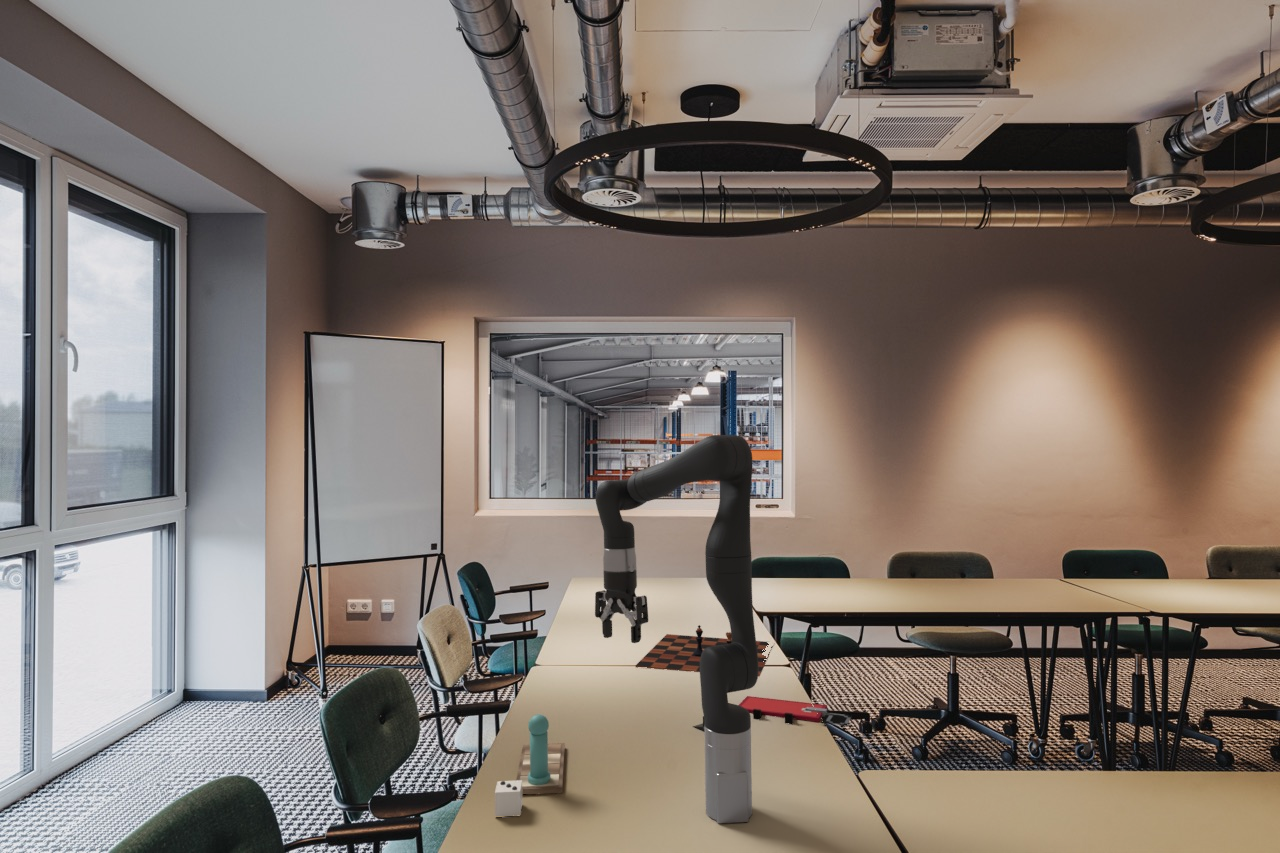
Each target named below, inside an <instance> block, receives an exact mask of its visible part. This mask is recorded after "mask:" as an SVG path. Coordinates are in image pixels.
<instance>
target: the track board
mask: <svg viewBox="0 0 1280 853" xmlns="http://www.w3.org/2000/svg"><path fill="white" fill-rule="evenodd" d="M565 746H566V744H565V742H562V743H561V742H560V743H559V742H558V743H548V771H549V772H550V781H549V782H548V783H546V784H543V785H532V784H530V783H529V782H528V774H529V773H530V744H523V745H522V747H521V748H522V749H521V754H520V760H519V764H518V769H517V774H516V780H522V794H536V795H539V794H538V793H557V794H563V786H564V785H563V784H564V766H565V750H566V748H565ZM516 780H515V781H516Z"/></svg>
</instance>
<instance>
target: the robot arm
mask: <svg viewBox="0 0 1280 853" xmlns="http://www.w3.org/2000/svg"><path fill="white" fill-rule="evenodd" d="M752 477H753V454H752V449H751V446H750V444H749V442H748V441H747V440H746V439H745V438H744V437H743V436H740V435H736V434H716V435H715V434H713V435H709V436H706V437H703V438H702V439H701V440H699V441H698V442H696V443H695V444H693V445H692V446H690V447H688V448H687V449H686V450H684V451H681V453H679V454H677V455H675V456H672V458H669V459H666V460H665V461H662V462H659V463H656V464H653V465H651V466H648V467H646V468H642V469H640V470H638V471H636V472H634V473H633V474H632V475H630V477H629V478H627V479H615V480H614V479H613V480H604V481H602V482H600V484H599V485H598V487H597V489H596V490H595V491H596V492H595V504H596V508H597V512H598V515H599V519H600V523H601V526H602V529H603V559H602V562H603V566H602V567H603V569H602V570H603V589H604V590H598V591H596V592H595V597H594V598H595V600H594V602H595V603H594V617H596V618H598V619H600V621H601V622H602V623H601V624H602V626H601V628H602V629H601V630H602V631H601V632H602V635H603V637H604V638H605V639H609V638H612V637H613V620H612V619H613V616H614V615H615V614H617V613H618V614H621V615H624V616H625V618H626V619H628V621H629V622H630V624H631V626H630V640H631V641H630V642H631V643H633V644H637V643H640V641H641V639H642V625H643V624H647V623H648V622H649V610H648V608H649V607H648V597H647V595H640V596H639V595H636V589H637V588H638V578H637V577H638V576H637V554H636V548H635V547H636V546H635V527H634V524H633V523H632V522H631V521H627V520H623V517H622V513H621V511H622V512H623V511H630V510H633V509H636V508H638V507H641V506H642V505H644V504H645V503H647V502H652V501H654V500H656V499H657V500H658V499H659V498H662V497H666V496H667V495H670V494H671V493H673V492H675V490H677V489H678V488H681V487H682V486H684V485H686V484H687V485H688V484H690V483H696V482H697V483H698V482H705V481H714V482H719V503H718V508H717V512H716V515H715V518H714V520H713V523H712V525H711V528H710V530H709V533H708V536H707V538H706V544H705V551H704V552H705V553H704V554H705V574H706V576H705V577H706V581H707V584H708V586H709V588H710V590H711V591H712V593H713V595H714V597H715V598H716V600H717V601H718V602H719V604H720V605H721V607H722V608H723V610H724V611H725V614H726V616H727V618H728V619H727V620H728V621H729V627H730V632H731V639H732V640H731V644H724V645H717V646H711V647H707V648H705V649H704V650H703V652H702V654H701V657H700V672H699V679H700V681H699V682H700V691H701V694H700V695H701V709H702V712H703V716H704V725H705V732H704V773H705V774H704V777H705V778H704V780H705V781H704V784H705V791H704V792H705V812H706V815H707V817H708V816H709V818H711V819H713V820H715V821H716V824H734V823H748V822H750V819H749V818H750V817H751V816H752V815H753V791H752V786H753V785H752V784H753V783H752V780H753V779H752V725H751V724H752V721H751V718H752V716H751V713H749V711H748V710H747V709H745V708H744V707H742V706H739V704H735V703H732V702H731V703H729V700H728V694H729V693H733V692H735V693H736V692H740V691H745V690H750V689H752V688H754V687H755V685H756V684H757V682H758V679H759V678H758V671H759V667H758V654H757V645H756V641H757V638H756V631H755V630H756V629H755V621H754V611H753V610H754V609H753V608H754V606H753V584H752V582H753V576H752V575H753V572H752V570H753V567H752V566H753V565H752V564H753V563H752V546H751V543H752V542H751V491H752Z"/></svg>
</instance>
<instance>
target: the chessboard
mask: <svg viewBox="0 0 1280 853" xmlns="http://www.w3.org/2000/svg"><path fill="white" fill-rule="evenodd" d="M701 627H702V626H701V625H700V624H699V625H697V629H695V633H696V635H695V636H694V635H684V634H683V635H680V634H668V633H666V634H665V635H664V637H662V638H661V639H660V640H659V642H657V643H656V644H655V645H654V646H653V648H651V649H650V650H649V652H647V653H646V654H645V655H644V656H643V657H642V658H641V659H640V660H639V661H638V662H637V663H636V664H635V668H638V667H647V668H646V669H651V668H654V669H655V670H664V669H667V670H668V671H678V670H679V671H681V672H691V671H694V673H700V657H701V654H702V652H703V650H704V649H705V648H707V647H711V646H717V645H724V644H731V640H732V639H731V631H729V632H728V631H727V632H725V636H726V638H725V637H723V638H722V637H721V638H720V637H708V636H707V637H706V636H702V635H703V633H704V631H703V629H702V628H701ZM767 642H768V641H761V640H756V645H757V654H758V667H759V671H758V677H760V676H761V674H762V671H763V670H764V667H765V664H766V663H767V661H766V660H764V659H767V658H766V656H764V655H762V653H763V652H765V651H766V650H765V648H766V646H767V645H769V644H768V643H767ZM767 647H768V646H767ZM763 649H764V650H765V651H764V650H763ZM762 650H763V651H762ZM767 660H768V659H767ZM763 661H764V662H763ZM765 662H766V663H765ZM654 669H653V670H654ZM667 670H666V671H667Z"/></svg>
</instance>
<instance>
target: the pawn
mask: <svg viewBox="0 0 1280 853" xmlns="http://www.w3.org/2000/svg"><path fill="white" fill-rule="evenodd" d="M527 726H528V731H529V745H530V773H529V774H528V782H529V783H530V784H532V785H543V784H546V783H548V782H549V781H550V772H549V771H548V744H549V743H548V742H549V741H548V730H549V726H550V725H549V720H548V718H547V717H546V716H545V715H544V714H535V715H533V716H532V717H531V718H530V719H529V721H528V724H527Z"/></svg>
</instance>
